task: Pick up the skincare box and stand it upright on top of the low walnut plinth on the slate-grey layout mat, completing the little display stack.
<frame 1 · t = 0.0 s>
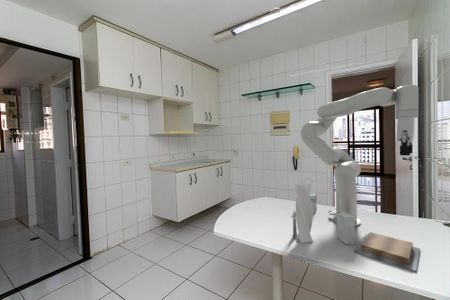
hand: (406, 154, 89), 37 cm above the table, tool pointing down, fingers open, 9 cm apart
skyscraper: (304, 240, 93), on the table
skincare box: (345, 241, 89), on the table
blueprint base: (386, 251, 81), on the table
light bulb box: (306, 210, 128), on the table
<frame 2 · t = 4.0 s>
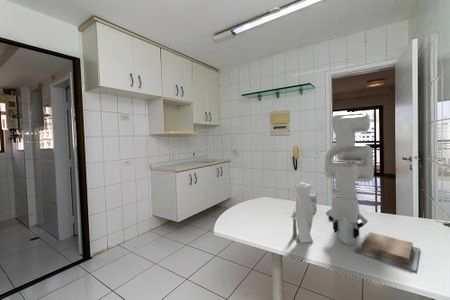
hand: (345, 233, 89), 3 cm above the table, tool pointing down, fingers closed on skincare box, 7 cm apart
skincare box: (345, 241, 89), on the table, touching gripper
everything else where it was.
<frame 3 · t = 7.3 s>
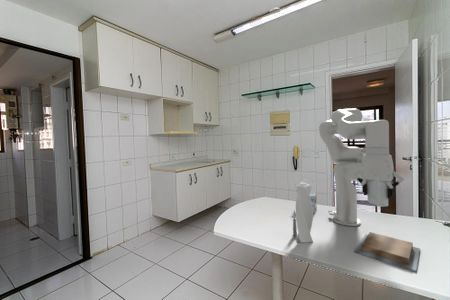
hand: (377, 195, 81), 22 cm above the table, tool pointing down, fingers closed on skincare box, 7 cm apart
skincare box: (377, 204, 81), point 18 cm above the table, touching gripper
everything else where it was.
when the fingers open (7 cm above the table, at t = 10.6 s): skincare box stays where it is, resting on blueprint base.
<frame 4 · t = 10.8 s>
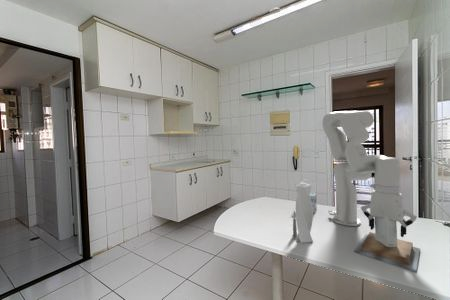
hand: (386, 231, 80), 8 cm above the table, tool pointing down, fingers open, 9 cm apart
skincare box: (385, 243, 81), point 3 cm above the table, touching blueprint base
everything else where it was.
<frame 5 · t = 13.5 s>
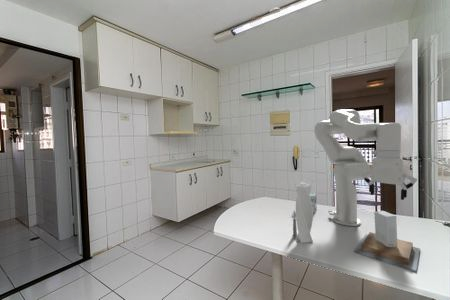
hand: (386, 196, 82), 21 cm above the table, tool pointing down, fingers open, 9 cm apart
nothing on the table moved.
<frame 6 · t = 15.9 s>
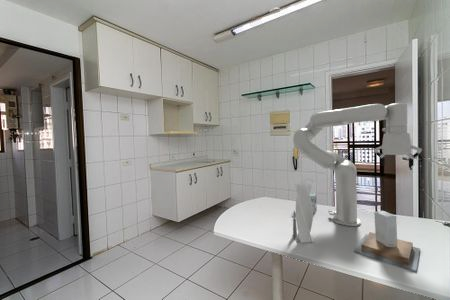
hand: (396, 166, 96), 30 cm above the table, tool pointing down, fingers open, 9 cm apart
nothing on the table moved.
at the end: skincare box inside the target area on the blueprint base (0.4 cm from its centre), point 2.8 cm above the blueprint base's base; skincare box tilted 0°; the gripper is holding nothing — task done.
